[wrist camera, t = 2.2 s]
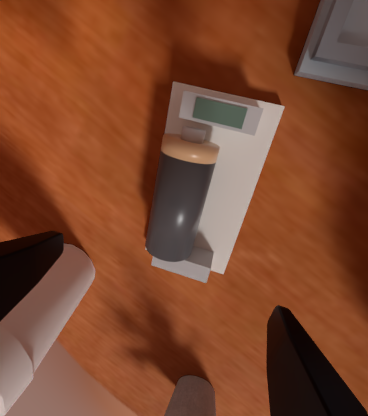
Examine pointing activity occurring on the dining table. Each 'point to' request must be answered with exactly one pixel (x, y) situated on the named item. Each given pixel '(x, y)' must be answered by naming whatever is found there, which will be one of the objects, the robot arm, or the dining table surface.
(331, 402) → the robot arm
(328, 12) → the two-compartment grey tray
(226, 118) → the checker cradle
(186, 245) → the battery cell
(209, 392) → the house plant
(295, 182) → the dining table surface
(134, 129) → the dining table surface
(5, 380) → the foam cup
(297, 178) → the dining table surface
